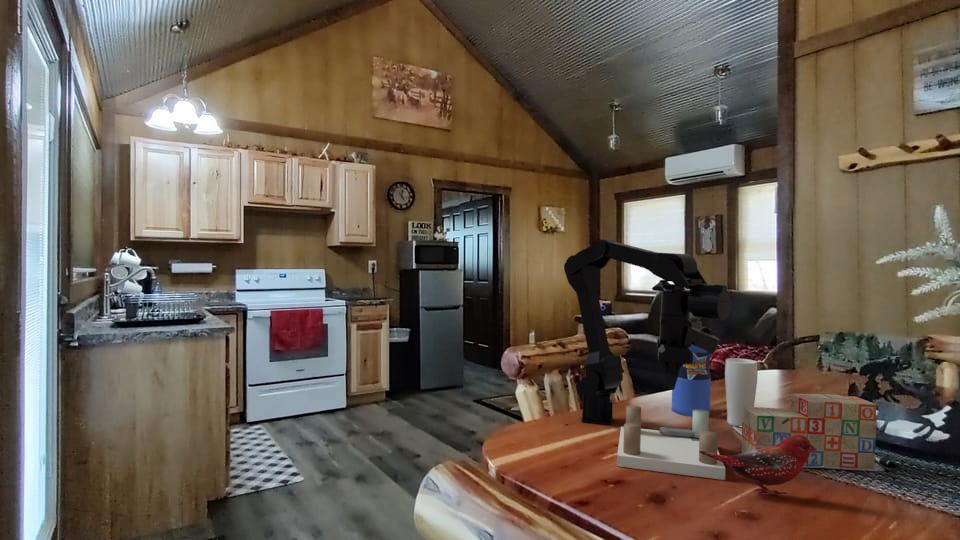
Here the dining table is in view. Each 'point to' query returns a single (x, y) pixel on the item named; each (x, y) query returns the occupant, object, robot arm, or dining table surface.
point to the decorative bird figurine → (770, 462)
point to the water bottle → (693, 381)
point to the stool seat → (667, 450)
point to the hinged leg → (698, 425)
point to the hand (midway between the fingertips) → (671, 389)
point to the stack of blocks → (817, 429)
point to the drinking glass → (739, 387)
